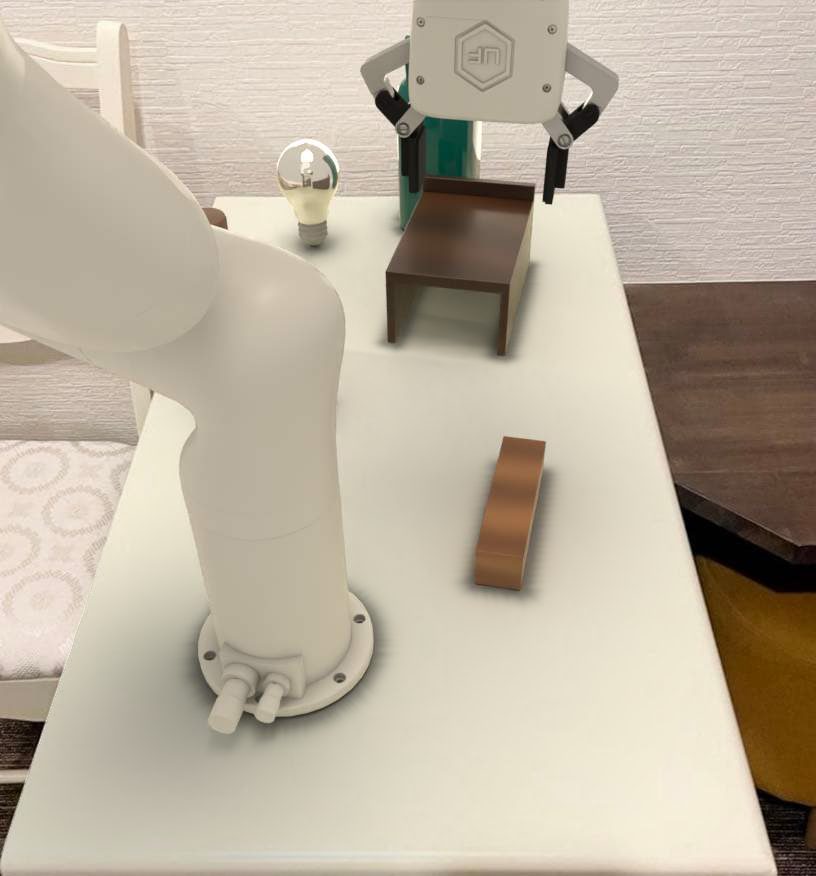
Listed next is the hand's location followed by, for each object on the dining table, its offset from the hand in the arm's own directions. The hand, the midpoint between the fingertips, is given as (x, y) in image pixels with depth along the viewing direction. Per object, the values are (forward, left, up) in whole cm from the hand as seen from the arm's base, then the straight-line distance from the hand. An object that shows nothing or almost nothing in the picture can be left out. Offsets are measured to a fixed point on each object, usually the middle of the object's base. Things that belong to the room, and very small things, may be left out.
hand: (482, 190), depth 72 cm
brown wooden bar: (-10, -5, -24) cm, 26 cm away
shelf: (+23, +5, -24) cm, 34 cm away
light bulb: (+32, +24, -24) cm, 47 cm away
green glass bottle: (+40, +11, -24) cm, 48 cm away
